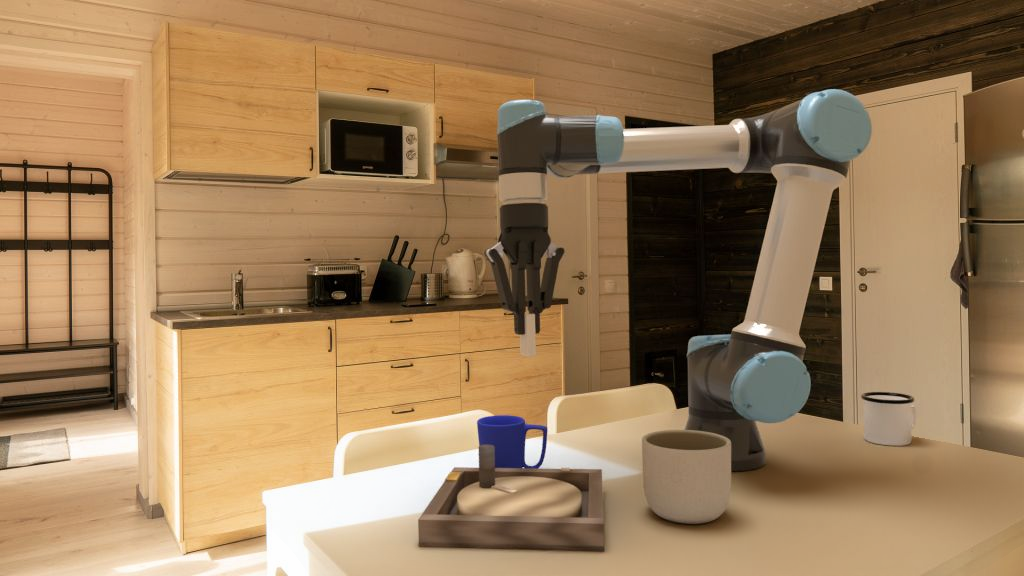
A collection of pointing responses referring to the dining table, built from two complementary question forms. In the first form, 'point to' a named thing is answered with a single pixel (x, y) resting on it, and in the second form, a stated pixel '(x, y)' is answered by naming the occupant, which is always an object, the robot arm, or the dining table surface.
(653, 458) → the planter
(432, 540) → the brown wooden tray
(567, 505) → the dial
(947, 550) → the dining table surface
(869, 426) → the mug
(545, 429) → the mug
